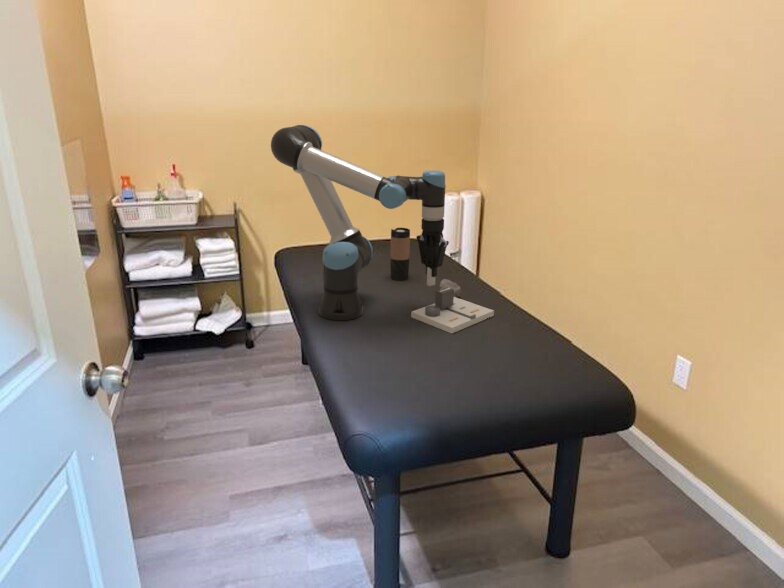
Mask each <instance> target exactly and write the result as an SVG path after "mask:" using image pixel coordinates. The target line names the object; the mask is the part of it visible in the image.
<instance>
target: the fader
mask: <svg viewBox="0 0 784 588" xmlns="http://www.w3.org/2000/svg"><path fill="white" fill-rule="evenodd" d="M453 299H454V289H452V288H449V287H446V288H443V289H440V288H439V289H437V290H435V299H434V300H435V301H434V303H435V306H438V307H440V309H441V310H443V309H445V308H448V307H451V306H453Z"/></svg>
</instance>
